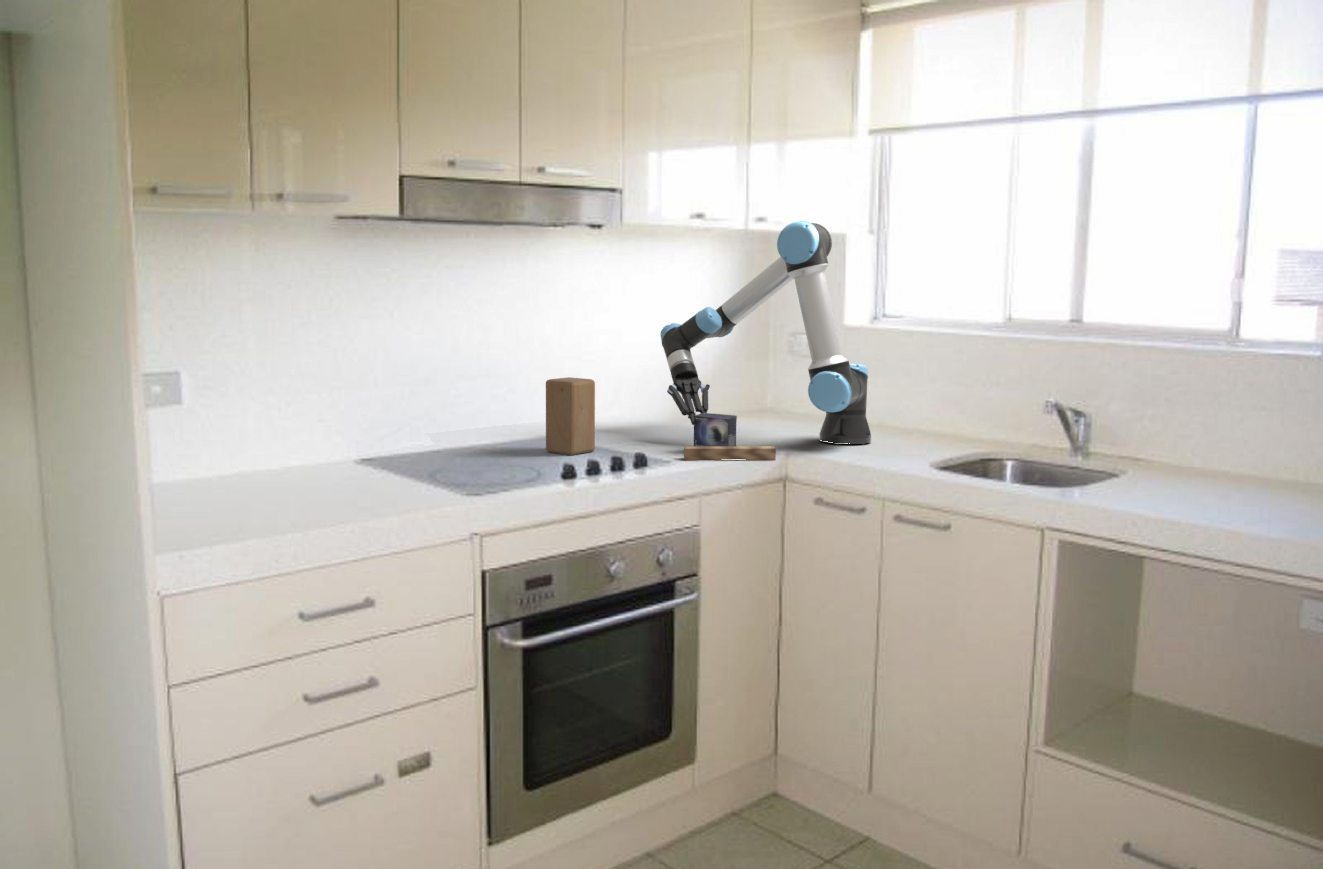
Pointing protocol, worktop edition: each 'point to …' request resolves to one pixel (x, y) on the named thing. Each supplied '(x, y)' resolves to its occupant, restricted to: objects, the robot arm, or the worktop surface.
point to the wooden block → (570, 415)
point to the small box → (714, 430)
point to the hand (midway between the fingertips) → (701, 432)
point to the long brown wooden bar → (729, 452)
